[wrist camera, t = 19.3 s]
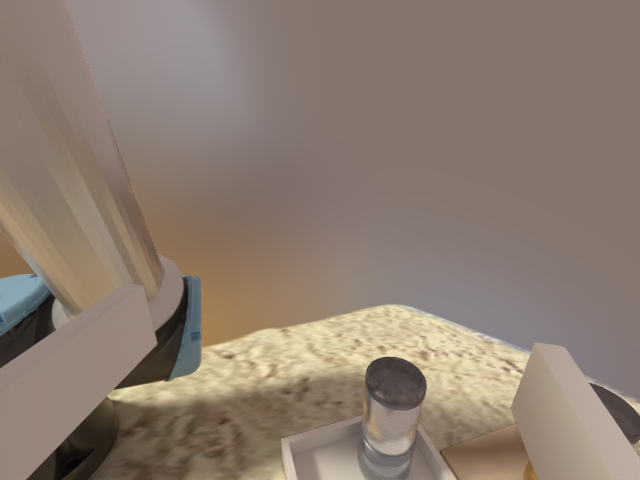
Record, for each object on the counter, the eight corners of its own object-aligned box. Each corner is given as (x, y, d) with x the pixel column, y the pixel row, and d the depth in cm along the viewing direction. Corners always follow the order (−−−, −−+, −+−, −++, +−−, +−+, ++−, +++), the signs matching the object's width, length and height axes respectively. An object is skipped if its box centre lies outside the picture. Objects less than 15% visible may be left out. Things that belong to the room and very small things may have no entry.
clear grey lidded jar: (348, 446, 41) (355, 363, 35) (392, 432, 43) (405, 351, 37) (370, 500, 35) (383, 412, 30) (420, 481, 37) (440, 395, 32)
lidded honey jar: (508, 475, 38) (544, 389, 32) (548, 459, 39) (588, 374, 34) (560, 540, 32) (614, 449, 26) (604, 517, 34) (662, 427, 28)
